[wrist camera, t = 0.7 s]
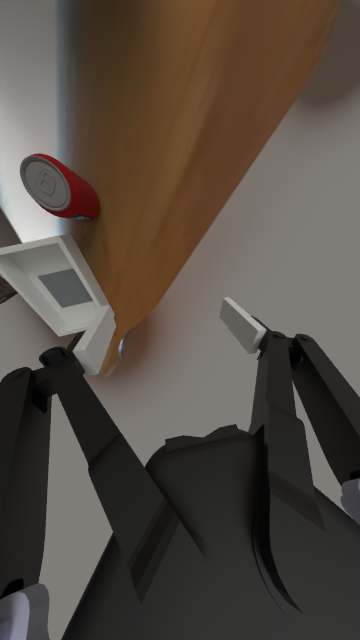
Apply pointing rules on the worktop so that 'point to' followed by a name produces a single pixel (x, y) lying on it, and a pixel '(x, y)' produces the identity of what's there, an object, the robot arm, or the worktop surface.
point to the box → (6, 290)
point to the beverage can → (58, 188)
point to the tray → (54, 282)
